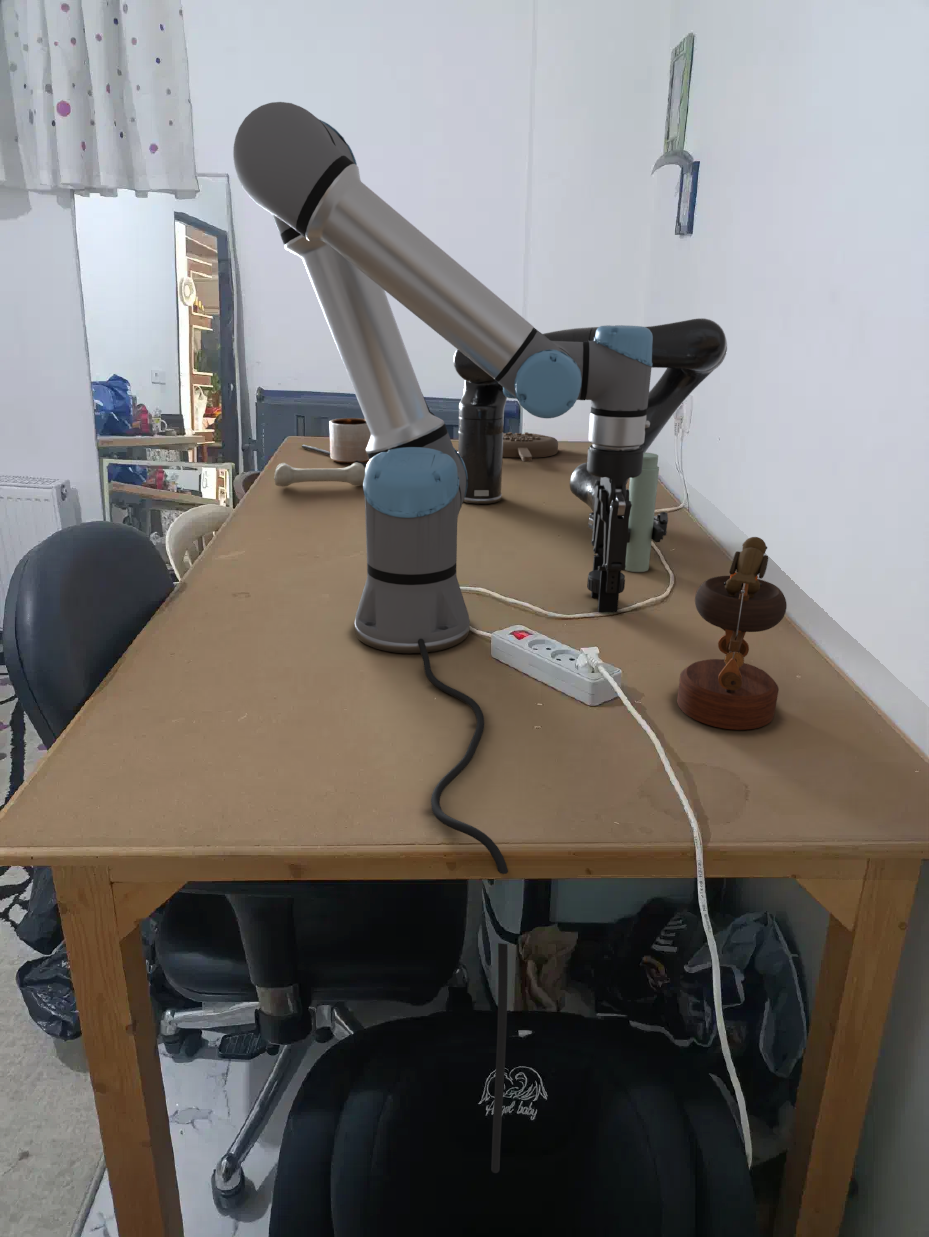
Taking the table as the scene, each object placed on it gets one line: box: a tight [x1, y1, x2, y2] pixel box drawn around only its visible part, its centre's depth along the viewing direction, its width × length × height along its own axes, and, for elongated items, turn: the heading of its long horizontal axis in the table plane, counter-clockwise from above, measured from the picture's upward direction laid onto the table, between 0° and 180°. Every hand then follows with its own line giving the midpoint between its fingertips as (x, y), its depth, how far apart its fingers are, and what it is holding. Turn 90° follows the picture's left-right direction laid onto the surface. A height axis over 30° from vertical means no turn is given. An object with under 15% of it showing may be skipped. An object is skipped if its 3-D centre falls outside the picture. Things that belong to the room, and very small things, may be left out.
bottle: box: [624, 452, 660, 573], centre depth 135 cm, size 4×4×19 cm
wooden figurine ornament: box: [676, 536, 788, 731], centre depth 91 cm, size 15×11×20 cm
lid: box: [586, 569, 626, 594], centre depth 123 cm, size 5×5×2 cm
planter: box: [328, 417, 371, 464], centre depth 212 cm, size 11×11×10 cm
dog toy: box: [273, 462, 366, 487], centre depth 187 cm, size 20×6×5 cm, turn 99°
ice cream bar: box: [502, 431, 559, 463], centre depth 221 cm, size 21×28×4 cm
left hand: (603, 604), depth 124 cm, fingers closed on lid, 5 cm apart
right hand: (643, 536), depth 134 cm, fingers closed on bottle, 4 cm apart
